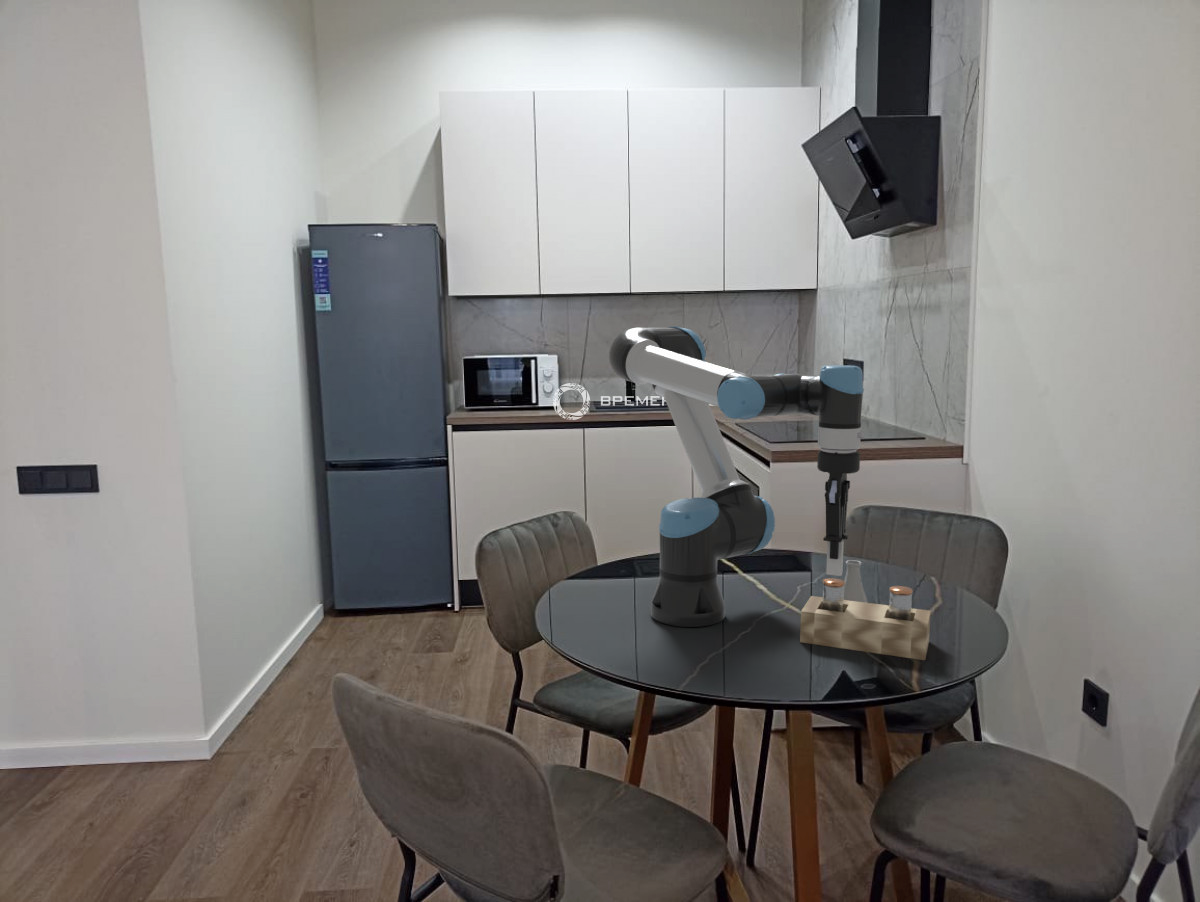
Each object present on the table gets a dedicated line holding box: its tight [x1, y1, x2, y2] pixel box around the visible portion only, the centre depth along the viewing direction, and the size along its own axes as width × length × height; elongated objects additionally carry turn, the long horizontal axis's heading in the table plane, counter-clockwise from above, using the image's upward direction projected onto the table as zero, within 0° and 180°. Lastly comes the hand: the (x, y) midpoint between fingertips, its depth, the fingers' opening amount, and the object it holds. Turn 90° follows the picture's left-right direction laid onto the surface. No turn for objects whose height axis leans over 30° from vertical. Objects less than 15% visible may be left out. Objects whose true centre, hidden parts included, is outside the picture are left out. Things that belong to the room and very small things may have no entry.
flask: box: [843, 559, 869, 603], centre depth 181 cm, size 7×7×10 cm
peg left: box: [822, 577, 845, 612], centre depth 163 cm, size 4×4×6 cm
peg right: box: [888, 585, 914, 621], centre depth 159 cm, size 4×4×6 cm
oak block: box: [799, 595, 932, 661], centre depth 162 cm, size 22×10×6 cm, turn 66°
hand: (834, 574), depth 163 cm, fingers closed
